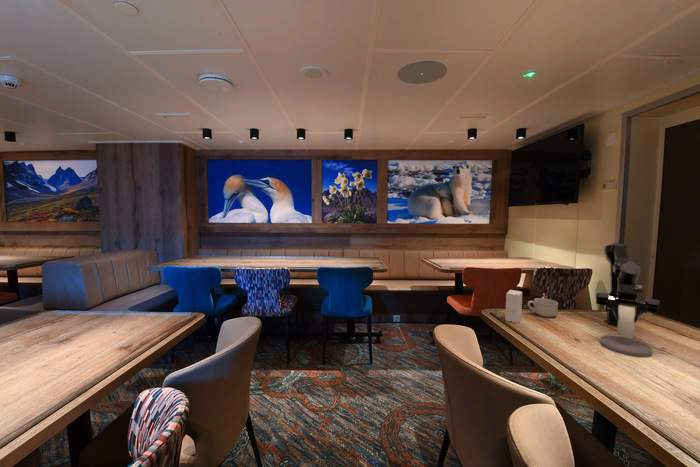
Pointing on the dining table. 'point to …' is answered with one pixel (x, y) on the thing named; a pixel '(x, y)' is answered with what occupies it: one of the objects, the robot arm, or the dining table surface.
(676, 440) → the dining table surface
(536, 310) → the teacup
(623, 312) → the canister
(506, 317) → the skincare box
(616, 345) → the grey-brown round disc
